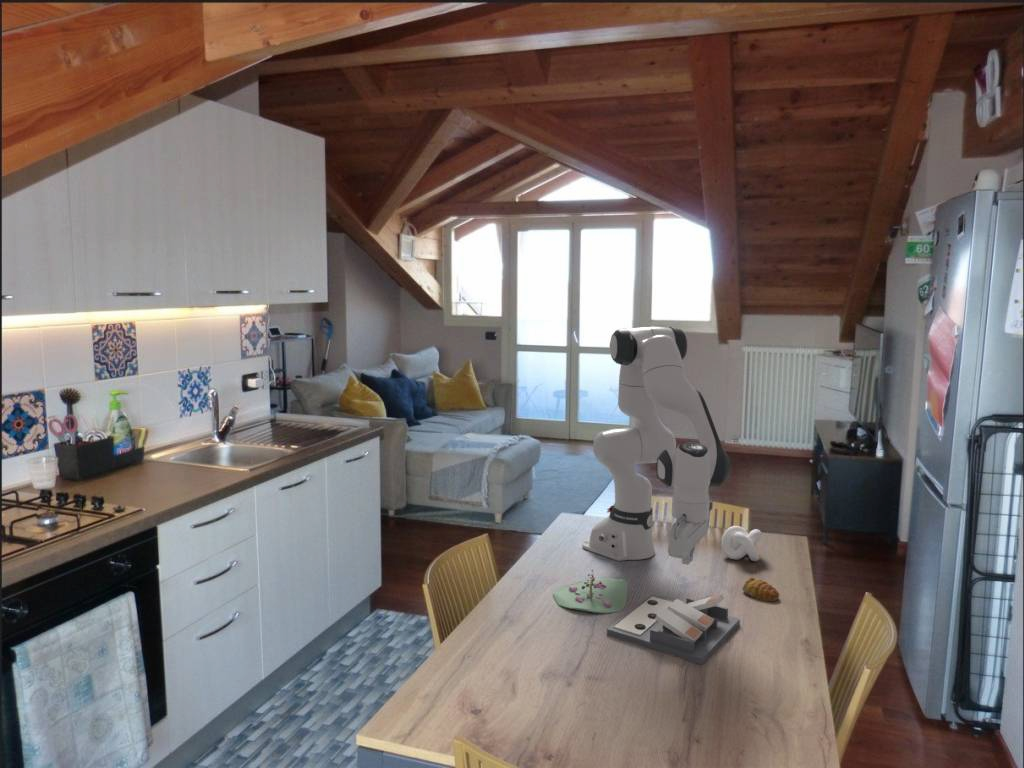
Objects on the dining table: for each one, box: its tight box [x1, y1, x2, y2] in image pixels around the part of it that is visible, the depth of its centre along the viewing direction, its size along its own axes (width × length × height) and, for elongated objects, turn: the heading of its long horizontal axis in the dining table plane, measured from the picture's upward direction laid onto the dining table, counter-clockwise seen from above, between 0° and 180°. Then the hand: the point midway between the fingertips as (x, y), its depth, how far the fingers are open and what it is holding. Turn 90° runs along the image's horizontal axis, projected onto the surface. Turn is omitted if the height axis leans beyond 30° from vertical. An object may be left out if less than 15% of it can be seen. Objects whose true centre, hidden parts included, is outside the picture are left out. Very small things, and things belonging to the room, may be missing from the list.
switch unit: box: [606, 594, 741, 666], centre depth 189 cm, size 24×24×4 cm
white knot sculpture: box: [721, 525, 763, 562], centre depth 234 cm, size 11×12×9 cm
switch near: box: [655, 608, 702, 641], centre depth 181 cm, size 10×5×1 cm, turn 55°
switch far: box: [687, 593, 725, 610], centre depth 192 cm, size 10×5×1 cm, turn 53°
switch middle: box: [668, 598, 714, 630], centre depth 187 cm, size 10×5×1 cm, turn 55°
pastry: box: [742, 576, 780, 602], centre depth 209 cm, size 9×7×4 cm
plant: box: [552, 569, 628, 614], centre depth 209 cm, size 25×21×9 cm
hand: (687, 562), depth 193 cm, fingers closed
